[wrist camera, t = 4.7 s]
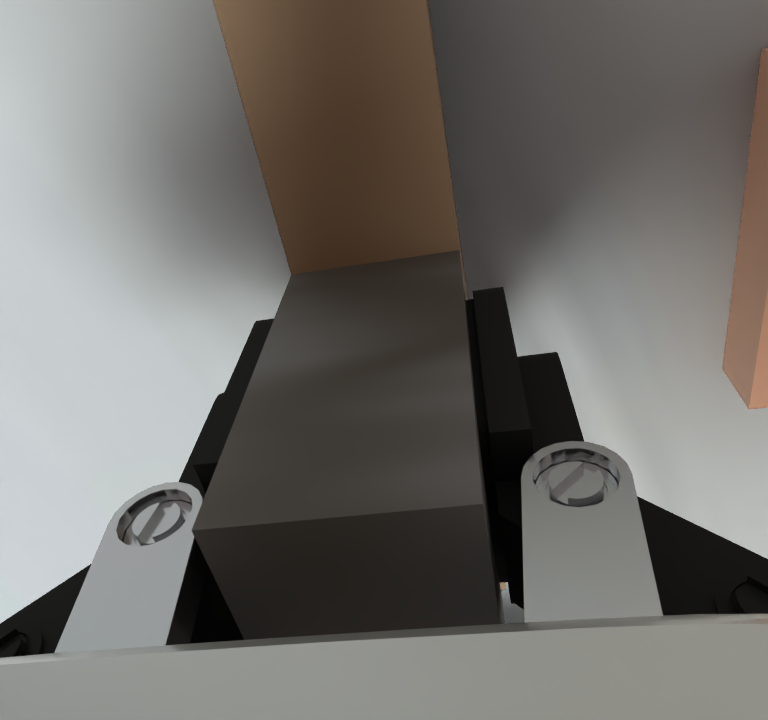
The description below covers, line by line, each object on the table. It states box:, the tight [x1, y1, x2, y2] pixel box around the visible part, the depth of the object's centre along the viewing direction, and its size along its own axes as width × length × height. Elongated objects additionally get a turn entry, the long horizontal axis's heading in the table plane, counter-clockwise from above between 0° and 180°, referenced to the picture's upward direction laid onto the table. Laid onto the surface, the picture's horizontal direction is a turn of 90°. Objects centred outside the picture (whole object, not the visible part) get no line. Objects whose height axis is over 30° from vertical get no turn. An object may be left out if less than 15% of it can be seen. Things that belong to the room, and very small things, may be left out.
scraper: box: [191, 0, 506, 640], centre depth 11 cm, size 3×14×8 cm, turn 11°
